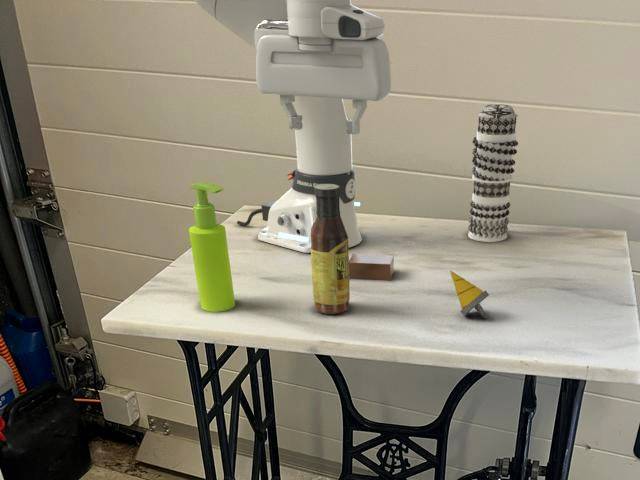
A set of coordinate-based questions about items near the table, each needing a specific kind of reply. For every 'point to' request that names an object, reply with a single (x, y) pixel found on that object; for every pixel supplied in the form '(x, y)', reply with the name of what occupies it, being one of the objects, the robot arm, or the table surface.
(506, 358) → the table surface
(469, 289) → the yellow tipped cone
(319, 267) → the sauce bottle
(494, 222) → the decorative candle
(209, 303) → the lime green necked cylinder
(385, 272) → the plywood offcut
